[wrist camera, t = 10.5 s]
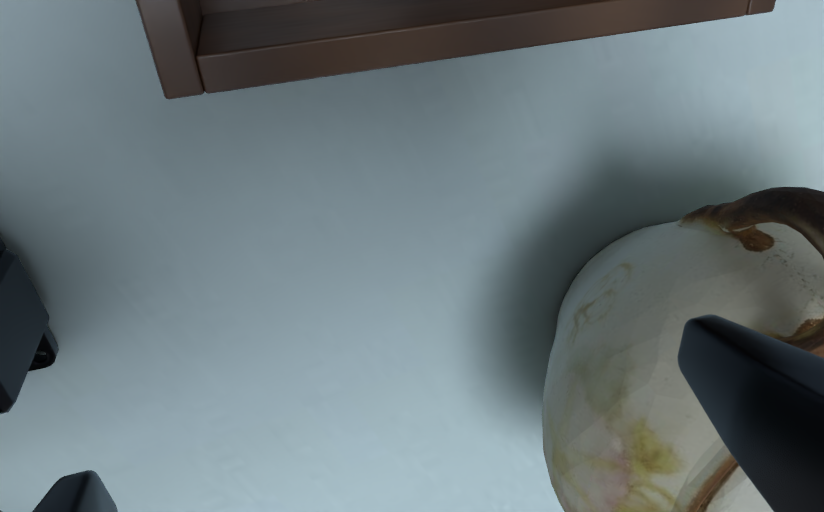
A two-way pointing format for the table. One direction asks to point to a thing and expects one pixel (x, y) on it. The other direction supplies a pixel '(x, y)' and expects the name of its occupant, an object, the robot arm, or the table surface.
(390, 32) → the caddy
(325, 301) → the table surface
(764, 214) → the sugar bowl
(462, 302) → the table surface
